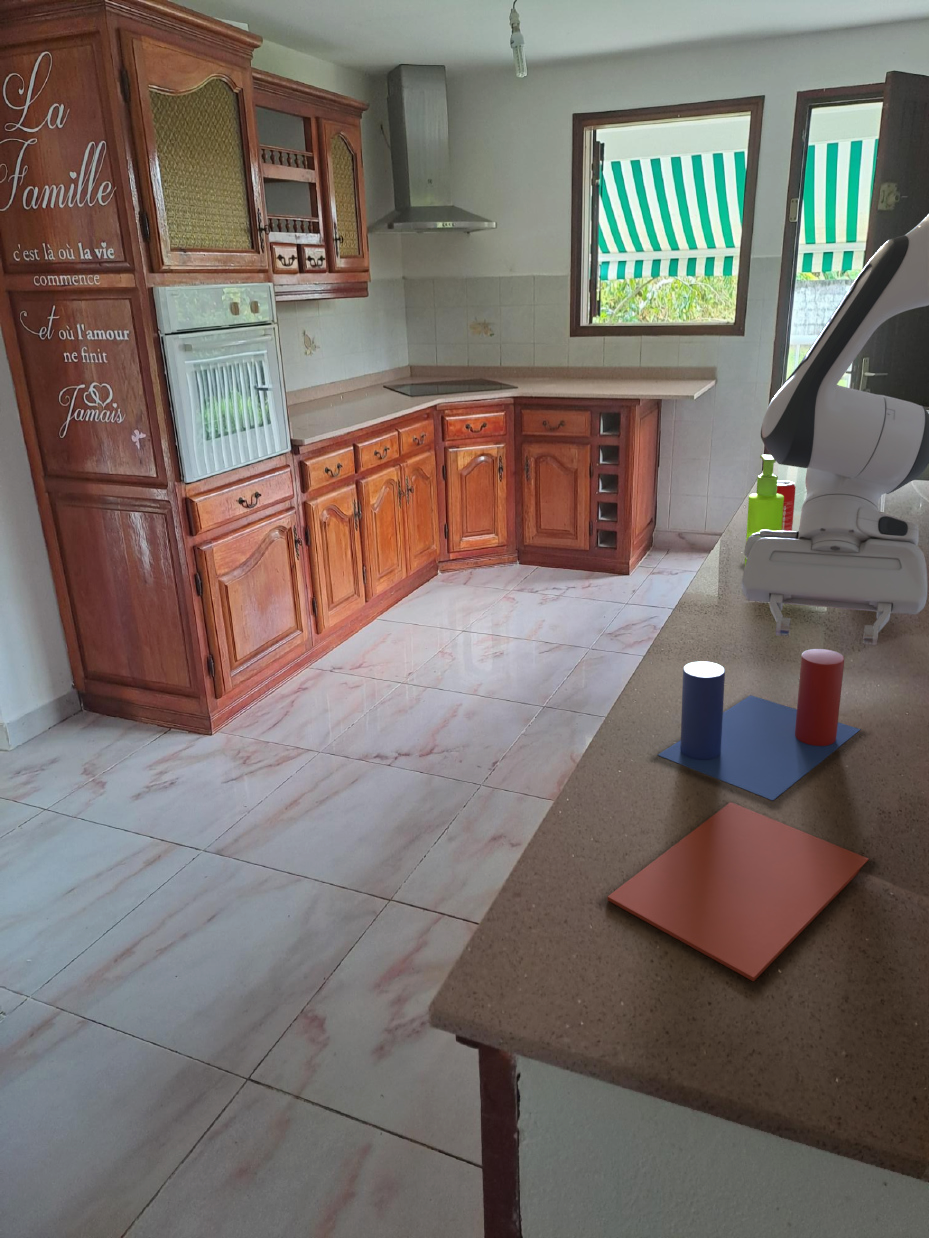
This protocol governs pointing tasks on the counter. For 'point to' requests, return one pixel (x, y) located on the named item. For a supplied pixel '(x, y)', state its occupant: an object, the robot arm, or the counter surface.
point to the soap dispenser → (765, 502)
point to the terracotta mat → (739, 887)
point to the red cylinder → (819, 696)
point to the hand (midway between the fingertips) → (825, 638)
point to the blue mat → (761, 749)
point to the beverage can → (787, 502)
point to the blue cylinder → (702, 710)
